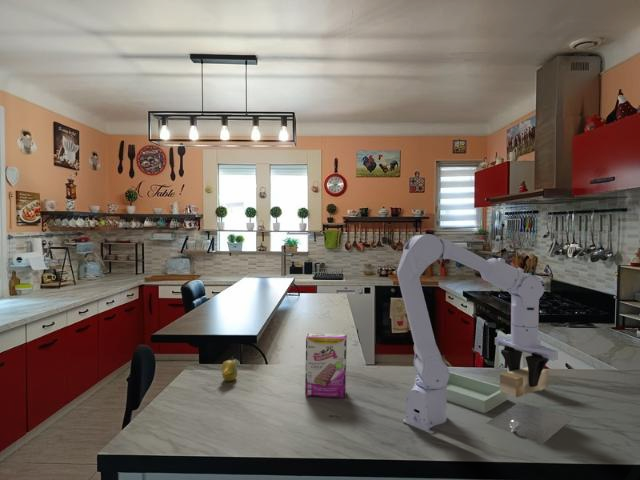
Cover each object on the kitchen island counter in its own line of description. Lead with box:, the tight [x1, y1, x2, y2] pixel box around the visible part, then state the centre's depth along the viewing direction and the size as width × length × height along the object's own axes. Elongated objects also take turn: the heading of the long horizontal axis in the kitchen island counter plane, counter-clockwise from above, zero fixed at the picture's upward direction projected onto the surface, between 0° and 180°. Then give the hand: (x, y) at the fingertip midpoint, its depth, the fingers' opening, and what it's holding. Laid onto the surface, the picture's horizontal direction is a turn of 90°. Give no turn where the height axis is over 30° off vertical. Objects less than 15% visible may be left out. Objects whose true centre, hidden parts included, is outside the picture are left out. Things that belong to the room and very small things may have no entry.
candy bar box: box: [304, 332, 348, 399], centre depth 109 cm, size 11×5×16 cm, turn 84°
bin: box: [447, 371, 509, 414], centre depth 107 cm, size 13×19×4 cm
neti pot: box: [220, 359, 238, 382], centre depth 120 cm, size 4×15×6 cm, turn 1°
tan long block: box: [499, 367, 549, 398], centre depth 93 cm, size 12×4×4 cm, turn 119°
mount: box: [485, 401, 573, 445], centre depth 92 cm, size 18×12×4 cm, turn 131°
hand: (524, 382), depth 93 cm, fingers closed on tan long block, 4 cm apart
